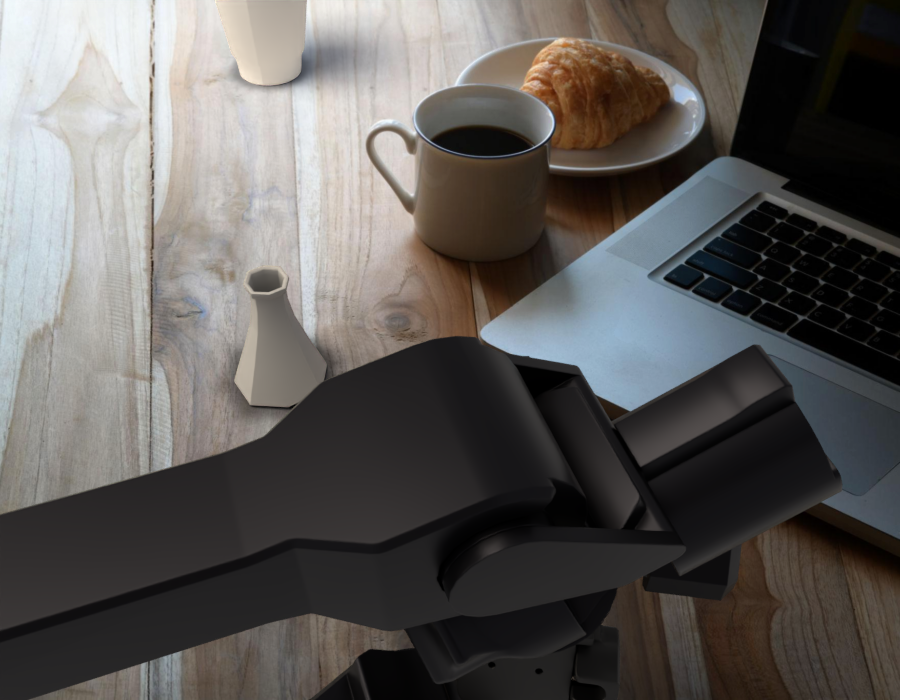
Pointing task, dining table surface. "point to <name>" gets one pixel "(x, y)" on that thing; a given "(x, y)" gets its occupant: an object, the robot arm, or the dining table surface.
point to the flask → (276, 345)
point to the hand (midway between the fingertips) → (529, 477)
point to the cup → (265, 37)
